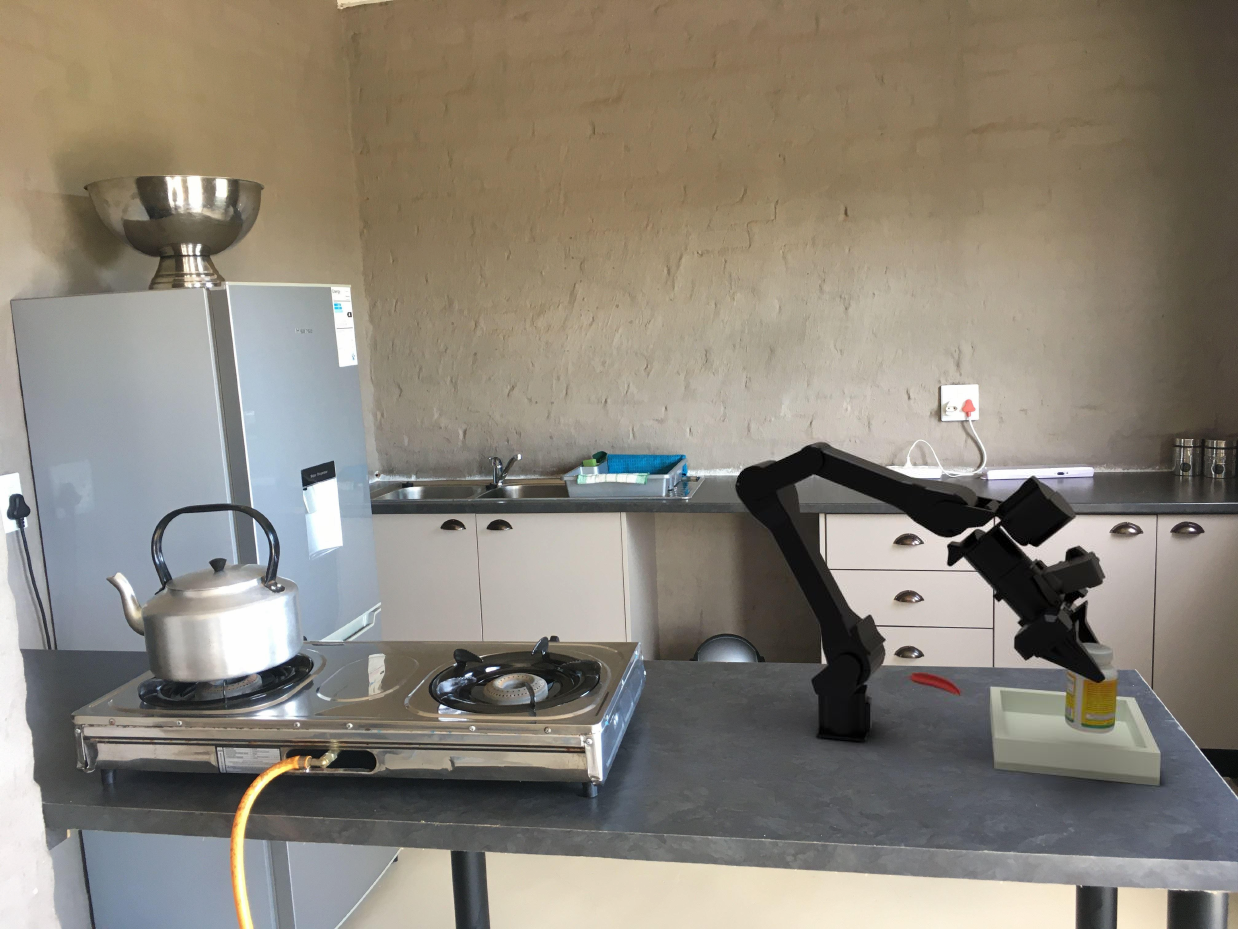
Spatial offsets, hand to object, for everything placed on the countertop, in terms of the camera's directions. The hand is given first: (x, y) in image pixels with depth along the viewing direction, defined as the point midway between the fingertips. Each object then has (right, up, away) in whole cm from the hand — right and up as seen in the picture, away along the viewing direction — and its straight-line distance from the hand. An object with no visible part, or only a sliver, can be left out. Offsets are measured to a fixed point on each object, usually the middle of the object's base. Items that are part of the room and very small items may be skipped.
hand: (1104, 673), depth 115 cm
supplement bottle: (-1, -7, +2) cm, 7 cm away
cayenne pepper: (-9, -10, +35) cm, 37 cm away
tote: (+1, -12, +11) cm, 16 cm away
